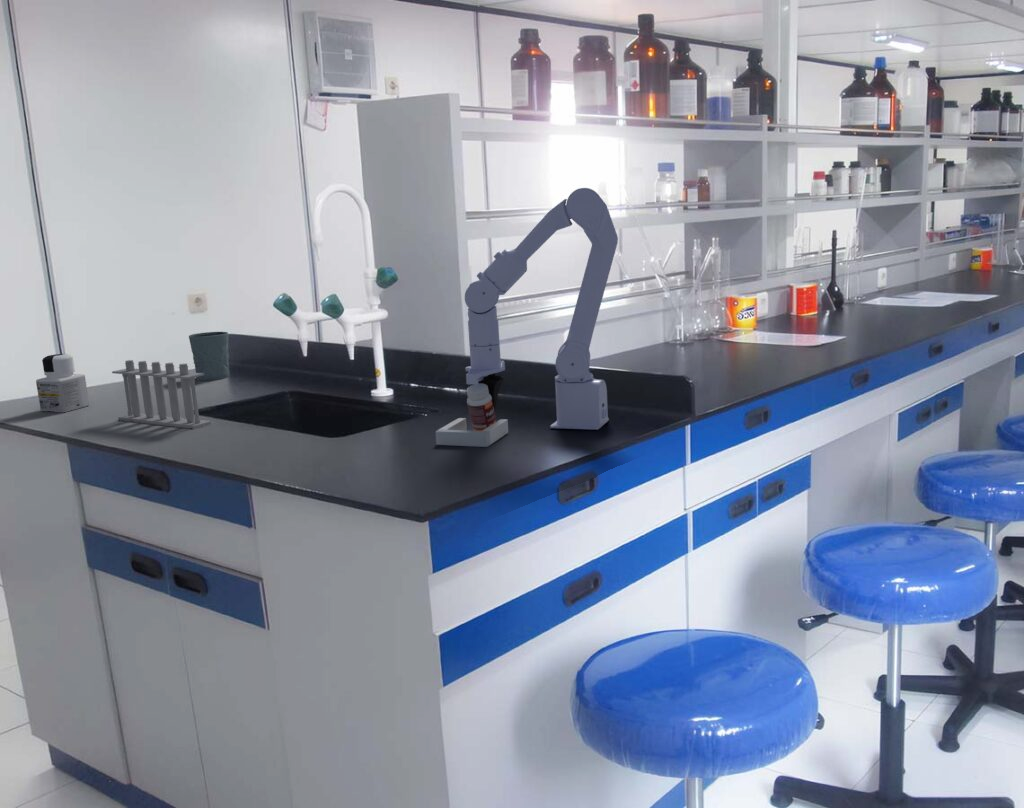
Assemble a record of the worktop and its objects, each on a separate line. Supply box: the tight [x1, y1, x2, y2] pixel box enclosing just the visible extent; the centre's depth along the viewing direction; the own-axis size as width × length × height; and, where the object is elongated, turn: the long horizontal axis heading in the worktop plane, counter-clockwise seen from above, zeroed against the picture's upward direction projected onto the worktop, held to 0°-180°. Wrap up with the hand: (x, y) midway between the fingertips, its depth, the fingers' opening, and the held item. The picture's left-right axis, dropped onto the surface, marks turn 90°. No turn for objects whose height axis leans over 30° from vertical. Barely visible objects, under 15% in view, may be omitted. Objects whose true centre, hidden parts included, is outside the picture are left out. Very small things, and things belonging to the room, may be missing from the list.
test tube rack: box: [111, 359, 211, 430], centre depth 203 cm, size 25×4×13 cm, turn 58°
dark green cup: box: [188, 331, 230, 382], centre depth 257 cm, size 10×10×12 cm
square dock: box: [435, 417, 509, 448], centre depth 175 cm, size 10×10×2 cm
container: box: [35, 353, 90, 413], centre depth 224 cm, size 8×8×13 cm
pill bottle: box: [466, 383, 497, 431], centre depth 178 cm, size 5×5×8 cm
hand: (488, 414), depth 182 cm, fingers closed
